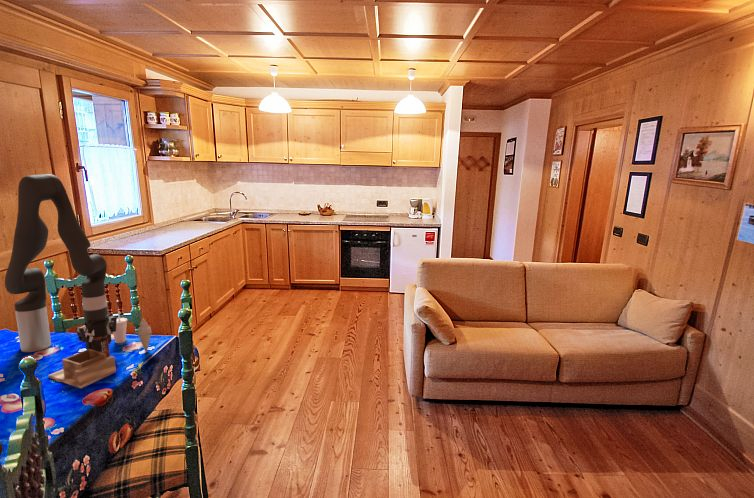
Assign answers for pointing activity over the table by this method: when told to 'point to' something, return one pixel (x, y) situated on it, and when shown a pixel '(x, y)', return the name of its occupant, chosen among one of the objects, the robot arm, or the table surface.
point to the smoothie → (120, 329)
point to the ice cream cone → (144, 333)
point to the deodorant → (100, 337)
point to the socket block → (80, 361)
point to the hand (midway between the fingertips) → (99, 346)
